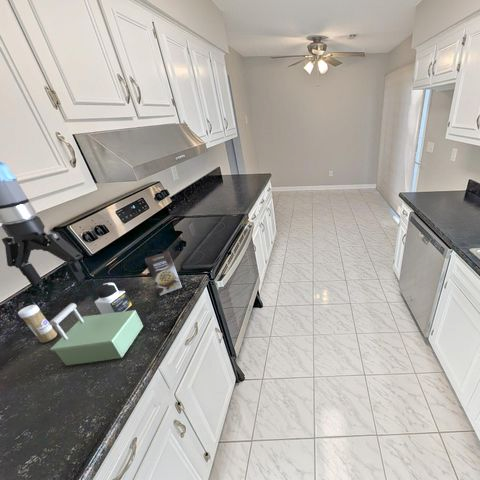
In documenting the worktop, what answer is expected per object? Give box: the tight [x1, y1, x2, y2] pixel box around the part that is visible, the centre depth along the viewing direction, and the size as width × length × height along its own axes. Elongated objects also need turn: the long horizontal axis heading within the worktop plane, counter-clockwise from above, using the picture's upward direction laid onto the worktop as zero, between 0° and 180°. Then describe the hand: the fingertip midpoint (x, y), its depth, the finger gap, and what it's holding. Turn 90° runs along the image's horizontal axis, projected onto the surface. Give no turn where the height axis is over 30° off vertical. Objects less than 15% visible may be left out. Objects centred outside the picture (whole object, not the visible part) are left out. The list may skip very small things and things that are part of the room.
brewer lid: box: [48, 302, 137, 352], centre depth 80 cm, size 17×14×9 cm
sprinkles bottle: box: [17, 304, 58, 343], centre depth 87 cm, size 5×5×14 cm
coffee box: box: [144, 251, 183, 296], centre depth 108 cm, size 9×6×16 cm
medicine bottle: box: [94, 282, 133, 314], centre depth 98 cm, size 7×7×12 cm
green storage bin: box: [54, 312, 144, 366], centre depth 84 cm, size 17×14×7 cm
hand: (59, 281), depth 80 cm, fingers open, 13 cm apart
